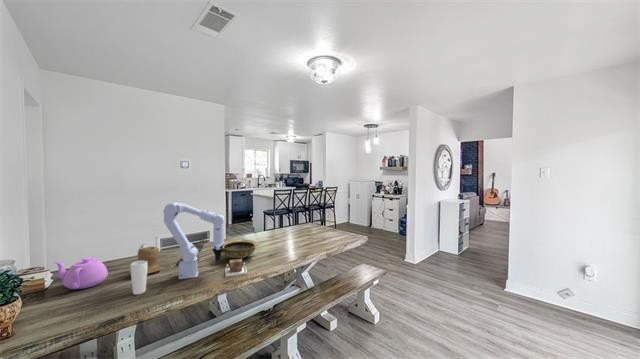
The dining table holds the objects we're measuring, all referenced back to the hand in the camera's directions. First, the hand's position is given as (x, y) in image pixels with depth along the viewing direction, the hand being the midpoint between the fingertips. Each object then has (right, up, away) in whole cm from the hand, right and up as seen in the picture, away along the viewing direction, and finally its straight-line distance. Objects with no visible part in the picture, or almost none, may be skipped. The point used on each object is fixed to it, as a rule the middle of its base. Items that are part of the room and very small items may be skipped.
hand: (218, 258), depth 146 cm
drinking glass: (-30, -10, -24) cm, 39 cm away
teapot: (-65, -9, -17) cm, 68 cm away
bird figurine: (-25, -9, +19) cm, 32 cm away
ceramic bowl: (+3, -9, +27) cm, 29 cm away
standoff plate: (+10, -10, +3) cm, 14 cm away
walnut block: (+9, -9, +3) cm, 13 cm away
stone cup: (-43, -9, -1) cm, 43 cm away
